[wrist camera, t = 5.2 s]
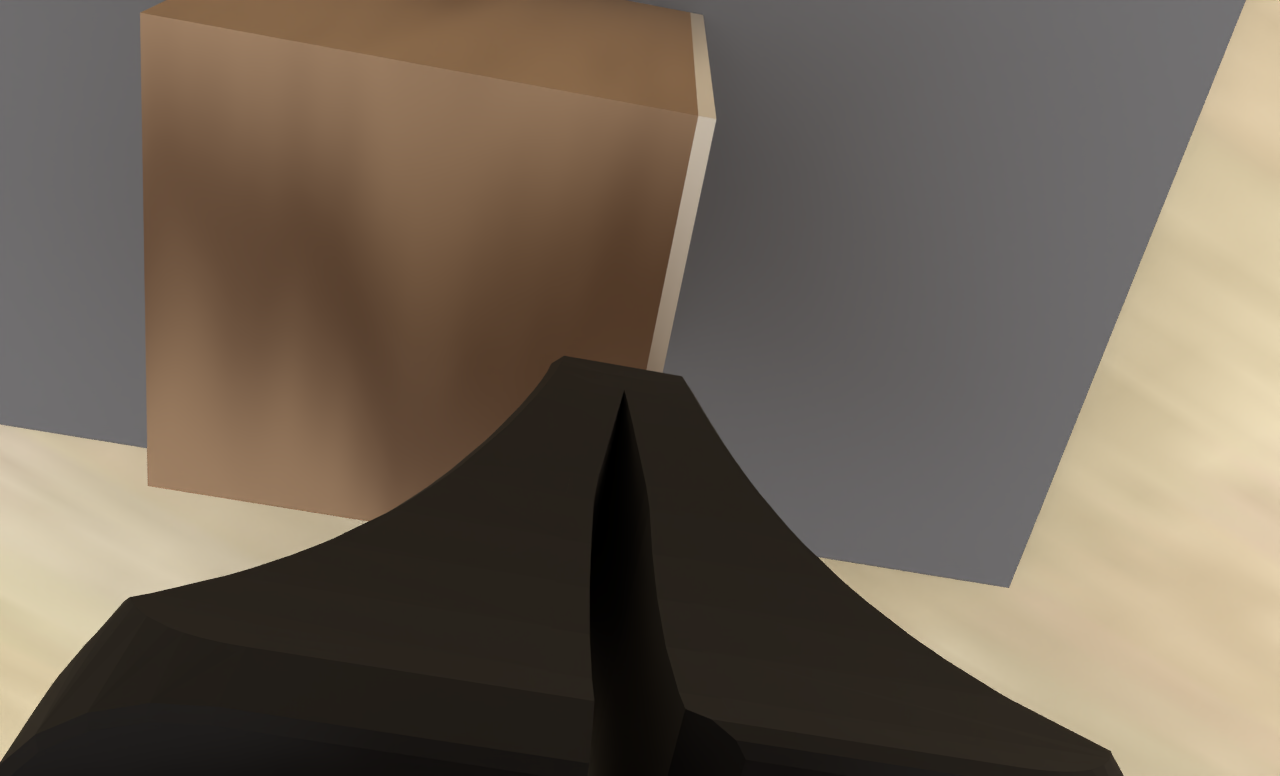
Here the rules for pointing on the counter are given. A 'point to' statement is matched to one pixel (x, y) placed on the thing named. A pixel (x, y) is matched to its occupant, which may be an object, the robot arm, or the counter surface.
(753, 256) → the mat
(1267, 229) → the counter surface
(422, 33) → the letter cube
